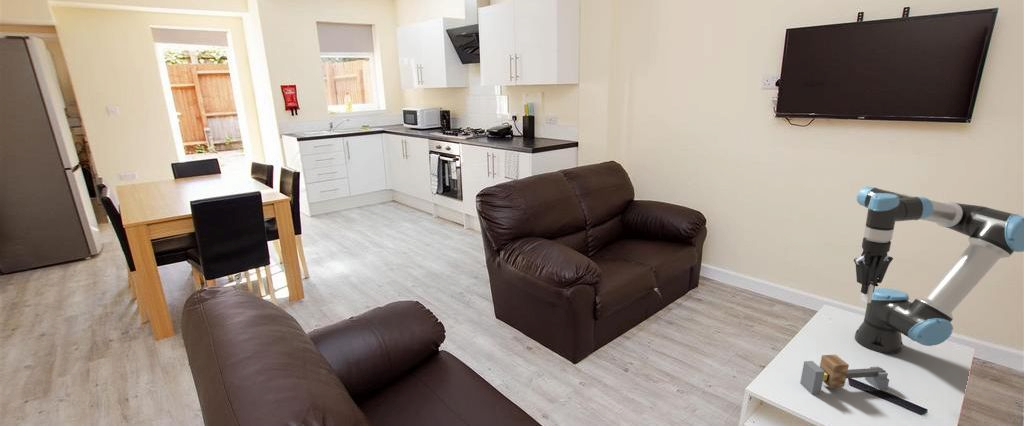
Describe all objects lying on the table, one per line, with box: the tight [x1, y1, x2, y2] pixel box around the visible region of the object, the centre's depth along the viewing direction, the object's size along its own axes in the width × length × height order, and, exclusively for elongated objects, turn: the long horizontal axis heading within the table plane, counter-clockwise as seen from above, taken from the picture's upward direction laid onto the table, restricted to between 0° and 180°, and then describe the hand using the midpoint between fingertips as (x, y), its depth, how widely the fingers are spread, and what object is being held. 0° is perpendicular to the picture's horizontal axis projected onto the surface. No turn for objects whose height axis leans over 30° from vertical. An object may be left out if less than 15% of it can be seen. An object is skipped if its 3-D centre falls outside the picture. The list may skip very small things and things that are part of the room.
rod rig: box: [799, 360, 890, 395], centre depth 159 cm, size 27×6×9 cm, turn 93°
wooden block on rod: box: [819, 354, 850, 389], centre depth 158 cm, size 5×6×9 cm
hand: (865, 301), depth 162 cm, fingers closed
